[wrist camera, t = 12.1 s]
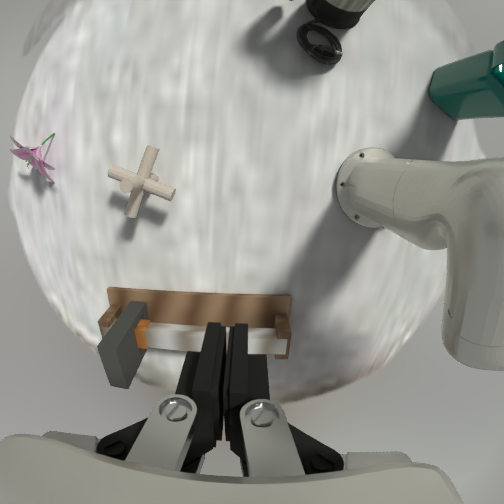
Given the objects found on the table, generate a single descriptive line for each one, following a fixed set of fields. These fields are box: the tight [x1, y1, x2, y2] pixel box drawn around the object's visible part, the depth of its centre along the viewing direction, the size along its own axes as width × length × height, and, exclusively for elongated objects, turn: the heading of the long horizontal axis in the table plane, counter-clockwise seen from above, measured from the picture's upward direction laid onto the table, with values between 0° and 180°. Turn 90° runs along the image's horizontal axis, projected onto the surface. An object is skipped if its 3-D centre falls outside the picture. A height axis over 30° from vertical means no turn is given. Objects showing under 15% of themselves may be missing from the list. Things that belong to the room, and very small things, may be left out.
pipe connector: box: [108, 145, 176, 218], centre depth 35 cm, size 10×10×10 cm
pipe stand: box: [98, 287, 291, 359], centre depth 44 cm, size 32×11×7 cm, turn 88°
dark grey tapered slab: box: [97, 301, 149, 389], centre depth 40 cm, size 3×8×14 cm, turn 178°
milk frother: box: [290, 0, 375, 65], centre depth 25 cm, size 14×16×15 cm
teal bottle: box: [429, 41, 504, 120], centre depth 24 cm, size 10×8×22 cm
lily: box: [10, 133, 55, 182], centre depth 34 cm, size 12×12×10 cm
